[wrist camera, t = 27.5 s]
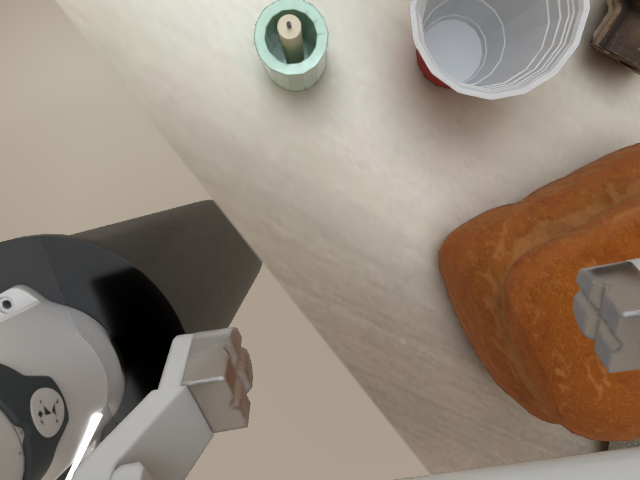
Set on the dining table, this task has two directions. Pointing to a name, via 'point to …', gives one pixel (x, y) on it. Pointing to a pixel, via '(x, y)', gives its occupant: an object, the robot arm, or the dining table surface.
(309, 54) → the holder
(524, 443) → the dining table surface
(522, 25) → the plastic cup
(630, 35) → the industrial component
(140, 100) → the dining table surface
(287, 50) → the candle
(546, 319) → the bread
